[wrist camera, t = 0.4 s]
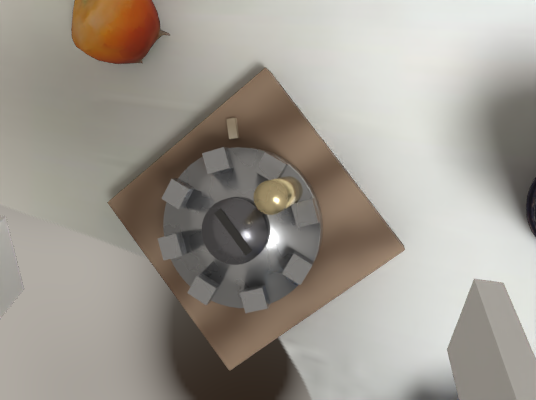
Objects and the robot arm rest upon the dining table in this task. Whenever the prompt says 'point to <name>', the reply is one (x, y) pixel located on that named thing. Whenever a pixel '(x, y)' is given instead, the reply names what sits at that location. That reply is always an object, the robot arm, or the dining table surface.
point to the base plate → (324, 185)
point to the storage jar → (532, 207)
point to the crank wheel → (241, 227)
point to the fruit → (115, 29)
